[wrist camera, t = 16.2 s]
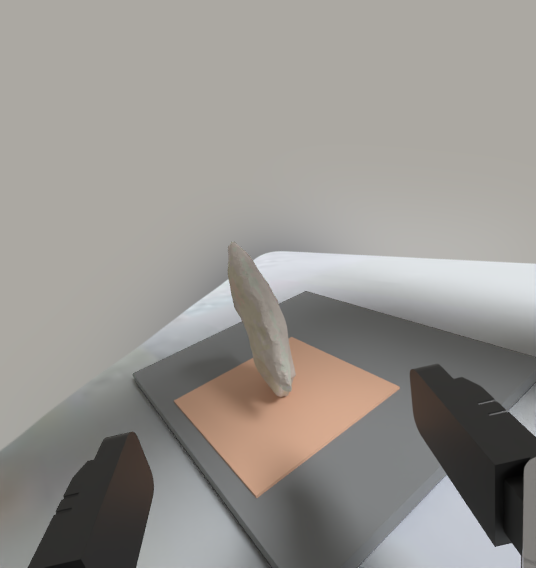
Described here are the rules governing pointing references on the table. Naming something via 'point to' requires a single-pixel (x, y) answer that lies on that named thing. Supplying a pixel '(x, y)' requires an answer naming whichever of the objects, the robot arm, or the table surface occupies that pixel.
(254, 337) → the arrowhead
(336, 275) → the table surface
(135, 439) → the robot arm
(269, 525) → the mat
